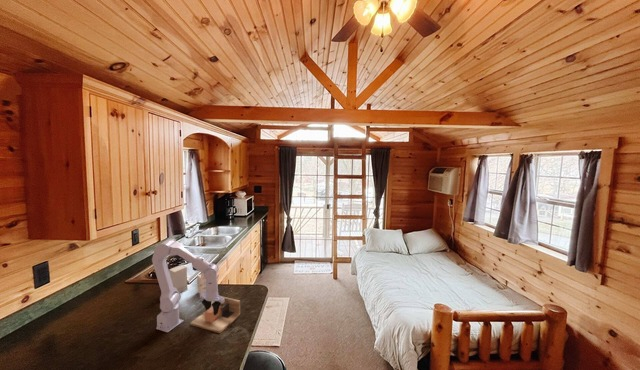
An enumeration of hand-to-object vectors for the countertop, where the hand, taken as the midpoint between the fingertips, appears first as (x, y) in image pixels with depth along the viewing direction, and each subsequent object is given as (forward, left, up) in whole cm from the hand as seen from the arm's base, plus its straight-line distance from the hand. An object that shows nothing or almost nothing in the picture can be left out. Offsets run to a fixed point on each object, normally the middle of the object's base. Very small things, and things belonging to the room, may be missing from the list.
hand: (212, 313), depth 129 cm
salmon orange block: (0, 0, -3) cm, 3 cm away
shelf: (+2, -1, -5) cm, 5 cm away
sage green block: (+6, +5, -3) cm, 8 cm away
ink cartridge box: (+23, +26, -5) cm, 35 cm away
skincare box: (+17, +42, -5) cm, 46 cm away
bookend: (+6, -5, -3) cm, 9 cm away
